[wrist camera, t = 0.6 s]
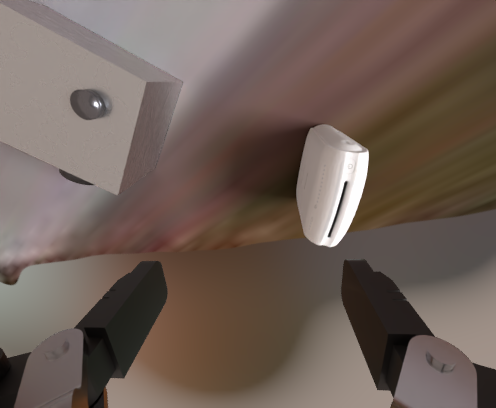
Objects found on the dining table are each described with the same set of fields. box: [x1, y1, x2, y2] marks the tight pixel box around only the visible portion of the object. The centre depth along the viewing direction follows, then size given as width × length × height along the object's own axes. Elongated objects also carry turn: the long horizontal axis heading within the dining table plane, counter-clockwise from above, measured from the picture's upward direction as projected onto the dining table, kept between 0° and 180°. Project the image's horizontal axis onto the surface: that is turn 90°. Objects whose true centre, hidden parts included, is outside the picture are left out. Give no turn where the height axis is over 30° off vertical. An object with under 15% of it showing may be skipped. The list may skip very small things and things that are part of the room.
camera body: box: [0, 0, 183, 195], centre depth 25 cm, size 14×16×10 cm
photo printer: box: [296, 124, 368, 247], centre depth 25 cm, size 10×4×12 cm, turn 175°
